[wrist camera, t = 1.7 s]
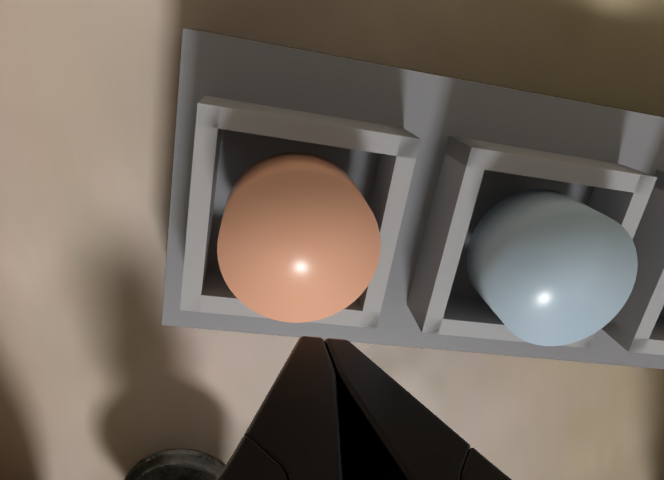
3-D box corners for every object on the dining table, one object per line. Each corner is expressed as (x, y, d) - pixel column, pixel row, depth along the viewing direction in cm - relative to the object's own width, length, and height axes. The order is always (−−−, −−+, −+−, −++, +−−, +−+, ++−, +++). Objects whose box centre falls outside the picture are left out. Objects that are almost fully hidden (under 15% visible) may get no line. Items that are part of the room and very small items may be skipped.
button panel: (769, 136, 22) (903, 162, 18) (677, 338, 26) (768, 404, 21) (195, 29, 18) (171, 26, 13) (174, 287, 21) (150, 357, 17)
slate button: (609, 198, 17) (660, 222, 15) (566, 314, 19) (606, 351, 16) (486, 179, 16) (521, 201, 14) (451, 302, 18) (478, 340, 16)
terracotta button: (377, 163, 16) (396, 183, 14) (350, 292, 17) (363, 329, 15) (231, 141, 15) (226, 159, 13) (216, 277, 17) (209, 315, 14)
